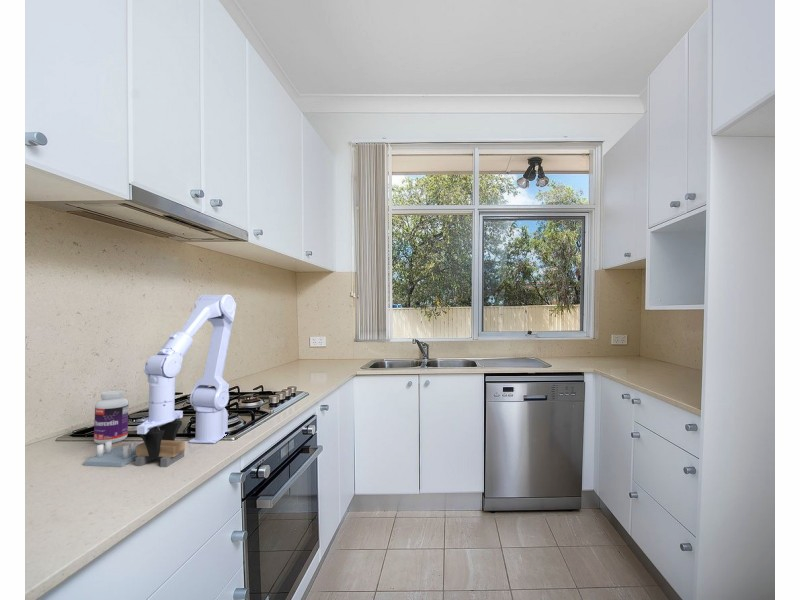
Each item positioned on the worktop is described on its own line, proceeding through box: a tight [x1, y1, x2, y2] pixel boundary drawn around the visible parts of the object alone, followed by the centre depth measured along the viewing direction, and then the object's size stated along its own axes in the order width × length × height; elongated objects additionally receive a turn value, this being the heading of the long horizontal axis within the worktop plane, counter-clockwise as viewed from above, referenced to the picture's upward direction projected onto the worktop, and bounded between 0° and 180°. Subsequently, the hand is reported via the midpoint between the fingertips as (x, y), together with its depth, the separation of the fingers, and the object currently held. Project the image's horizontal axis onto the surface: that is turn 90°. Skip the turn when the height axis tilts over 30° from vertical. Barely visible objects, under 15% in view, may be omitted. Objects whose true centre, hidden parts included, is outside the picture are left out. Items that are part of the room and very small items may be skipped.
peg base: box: [83, 441, 138, 468], centre depth 100 cm, size 9×10×4 cm
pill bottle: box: [93, 389, 129, 445], centre depth 114 cm, size 8×8×14 cm
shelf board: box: [136, 440, 186, 458], centre depth 100 cm, size 4×10×2 cm, turn 86°
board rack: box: [135, 451, 185, 468], centre depth 100 cm, size 7×8×2 cm
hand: (160, 453), depth 100 cm, fingers closed on shelf board, 4 cm apart
